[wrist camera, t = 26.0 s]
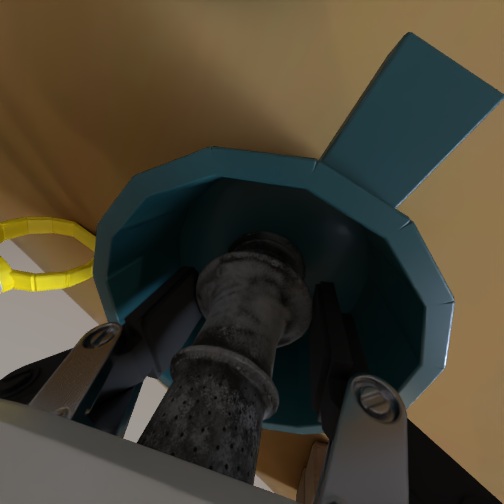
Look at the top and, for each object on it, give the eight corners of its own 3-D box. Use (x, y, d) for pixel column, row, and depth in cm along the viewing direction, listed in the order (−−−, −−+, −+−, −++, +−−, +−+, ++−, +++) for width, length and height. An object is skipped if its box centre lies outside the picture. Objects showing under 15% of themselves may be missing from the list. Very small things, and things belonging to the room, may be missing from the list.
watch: (123, 243, 15) (29, 288, 10) (118, 267, 16) (32, 318, 11) (56, 201, 15) (-77, 225, 10) (56, 229, 16) (-60, 263, 11)
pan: (149, 300, 17) (83, 362, 12) (243, 29, 8) (136, -199, 3) (275, 375, 18) (264, 467, 12) (498, 196, 9) (805, 256, 3)
